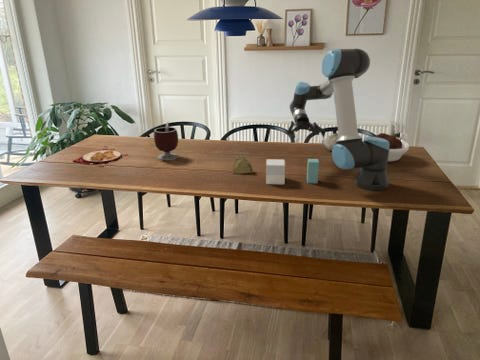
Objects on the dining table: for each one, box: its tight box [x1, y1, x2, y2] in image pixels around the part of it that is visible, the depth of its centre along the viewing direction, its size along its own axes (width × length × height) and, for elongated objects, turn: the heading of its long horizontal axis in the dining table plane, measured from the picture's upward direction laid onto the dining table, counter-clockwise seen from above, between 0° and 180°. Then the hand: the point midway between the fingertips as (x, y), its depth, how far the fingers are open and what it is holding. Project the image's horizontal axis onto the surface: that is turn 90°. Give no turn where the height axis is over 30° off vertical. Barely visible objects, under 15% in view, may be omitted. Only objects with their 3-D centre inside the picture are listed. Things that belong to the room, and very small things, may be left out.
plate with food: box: [72, 145, 128, 168], centre depth 229 cm, size 24×26×3 cm
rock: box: [231, 153, 254, 175], centre depth 202 cm, size 11×9×10 cm
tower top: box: [265, 158, 286, 176], centre depth 189 cm, size 9×9×5 cm
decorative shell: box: [323, 132, 339, 152], centre depth 236 cm, size 18×18×10 cm
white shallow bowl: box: [371, 132, 410, 162], centre depth 218 cm, size 25×25×15 cm
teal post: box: [306, 158, 320, 184], centre depth 188 cm, size 5×5×11 cm
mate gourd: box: [153, 121, 179, 161], centre depth 226 cm, size 16×14×20 cm
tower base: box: [265, 174, 286, 185], centre depth 191 cm, size 9×9×5 cm
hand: (309, 141), depth 193 cm, fingers open, 13 cm apart
